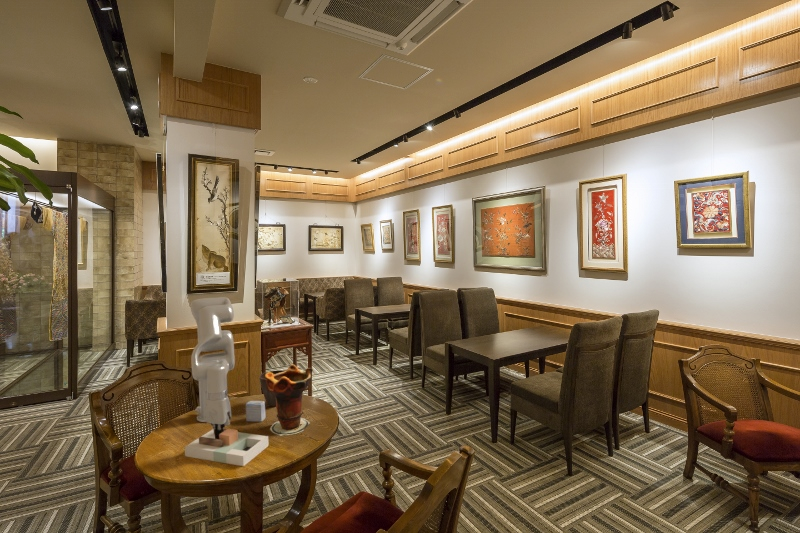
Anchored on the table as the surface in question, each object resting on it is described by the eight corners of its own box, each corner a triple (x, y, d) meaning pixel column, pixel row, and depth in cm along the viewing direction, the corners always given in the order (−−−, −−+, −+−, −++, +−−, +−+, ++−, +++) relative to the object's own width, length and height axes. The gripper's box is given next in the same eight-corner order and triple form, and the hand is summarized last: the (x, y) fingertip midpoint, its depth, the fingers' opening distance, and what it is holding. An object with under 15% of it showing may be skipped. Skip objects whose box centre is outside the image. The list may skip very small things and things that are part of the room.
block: (219, 443, 161) (219, 434, 161) (228, 438, 166) (227, 428, 165) (229, 445, 159) (229, 435, 159) (238, 439, 164) (237, 430, 164)
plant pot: (268, 397, 219) (267, 369, 218) (294, 399, 217) (293, 370, 216) (255, 409, 204) (254, 379, 203) (282, 410, 202) (281, 379, 201)
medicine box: (265, 418, 194) (265, 400, 193) (261, 422, 189) (261, 404, 189) (250, 417, 194) (249, 400, 194) (246, 421, 190) (245, 404, 189)
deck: (185, 456, 159) (184, 446, 159) (214, 437, 175) (213, 428, 174) (243, 466, 151) (243, 456, 151) (268, 445, 167) (268, 436, 166)
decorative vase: (322, 416, 193) (319, 361, 190) (297, 441, 171) (293, 379, 168) (285, 412, 199) (282, 358, 196) (257, 435, 177) (252, 376, 174)
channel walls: (199, 443, 161) (198, 437, 161) (215, 433, 170) (215, 427, 170) (221, 447, 158) (221, 441, 158) (237, 436, 167) (236, 430, 167)
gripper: (195, 396, 161) (197, 439, 162) (226, 400, 157) (227, 444, 158) (209, 389, 168) (211, 431, 169) (238, 393, 164) (240, 435, 165)
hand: (219, 437), depth 164 cm, fingers closed
